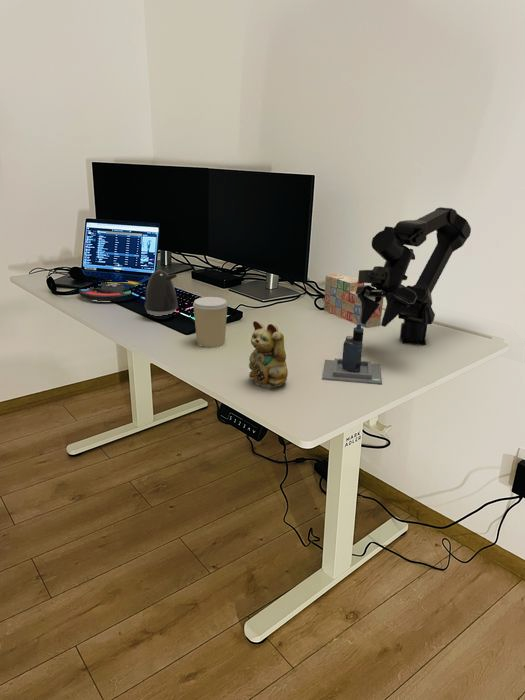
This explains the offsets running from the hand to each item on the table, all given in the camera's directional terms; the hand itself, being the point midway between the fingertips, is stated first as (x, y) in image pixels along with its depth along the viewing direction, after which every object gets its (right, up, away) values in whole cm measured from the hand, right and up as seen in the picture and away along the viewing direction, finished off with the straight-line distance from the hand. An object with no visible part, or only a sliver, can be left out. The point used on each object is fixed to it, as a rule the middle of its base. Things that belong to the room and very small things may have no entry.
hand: (372, 325), depth 138 cm
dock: (-6, -12, -4) cm, 14 cm away
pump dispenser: (-59, +4, +34) cm, 69 cm away
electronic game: (-81, +13, +58) cm, 101 cm away
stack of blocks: (+1, +4, +39) cm, 39 cm away
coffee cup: (-42, -5, +14) cm, 45 cm away
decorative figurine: (-26, -14, -10) cm, 31 cm away
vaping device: (-6, -11, -4) cm, 13 cm away
